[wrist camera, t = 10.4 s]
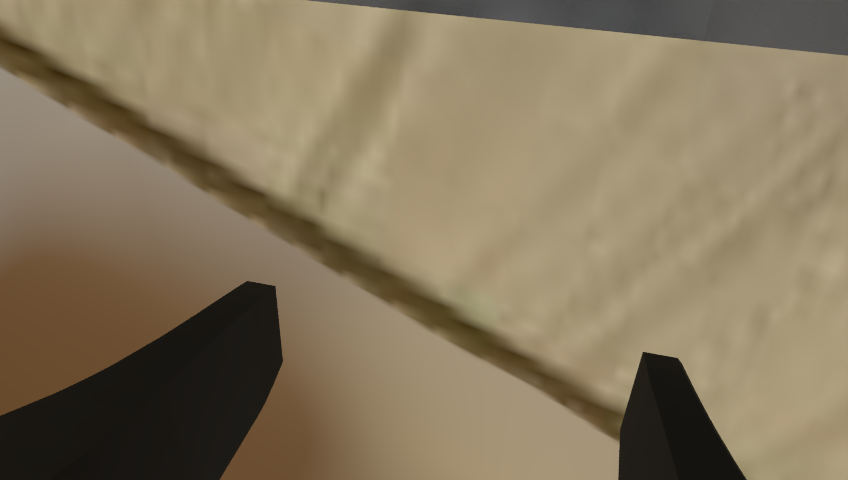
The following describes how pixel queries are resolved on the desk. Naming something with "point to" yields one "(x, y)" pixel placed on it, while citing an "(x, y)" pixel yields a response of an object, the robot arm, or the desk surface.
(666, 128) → the desk surface
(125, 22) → the desk surface
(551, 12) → the keyhole plate
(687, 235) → the desk surface
